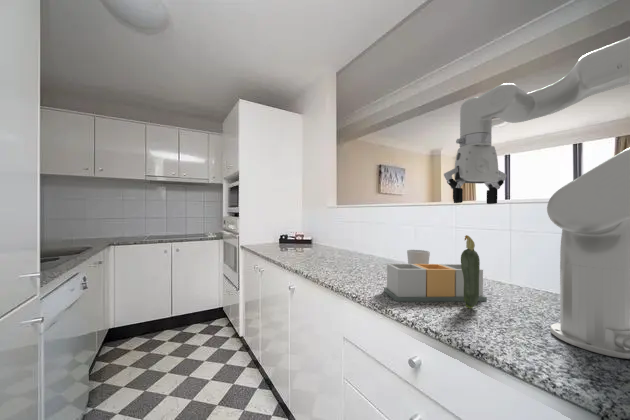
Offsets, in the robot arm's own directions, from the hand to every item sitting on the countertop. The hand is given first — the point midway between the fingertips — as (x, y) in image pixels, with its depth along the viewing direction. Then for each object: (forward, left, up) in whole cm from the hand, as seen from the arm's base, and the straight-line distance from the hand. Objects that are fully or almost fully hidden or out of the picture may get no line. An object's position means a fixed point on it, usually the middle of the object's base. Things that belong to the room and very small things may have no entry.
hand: (474, 203), depth 69 cm
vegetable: (-2, +3, -29) cm, 29 cm away
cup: (+24, +4, -29) cm, 38 cm away
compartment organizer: (+9, +7, -29) cm, 31 cm away
